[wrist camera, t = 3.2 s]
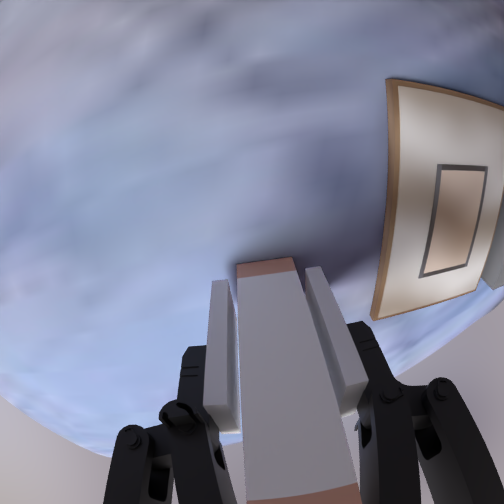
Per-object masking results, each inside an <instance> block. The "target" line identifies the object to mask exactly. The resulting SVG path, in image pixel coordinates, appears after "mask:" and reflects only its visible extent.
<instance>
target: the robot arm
mask: <svg viewBox="0 0 504 504" xmlns="http://www.w3.org/2000/svg"><path fill="white" fill-rule="evenodd" d="M305 298H306V301H307V304H308V307H309V310H310V313H311V316H312V320H313V323H314V326H315V329H316V332H317V336H318V339H319V342H320V345H321V349H322V352H323V355H324V359H325V362H326V365H327V369H328V372H329V376H330V379H331V383H332V386H333V390H334V393H335V397H336V400H337V404H338V408H339V411H340V415H341V417H345V416H348V415H352V414H355V412H356V409H357V411H358V414H359V417H360V418H359V420H358V421H357V423H356V425H355V431H357V429H358V434H359V456H360V496H361V501H362V504H421V490H420V478H419V477H420V475H419V465H418V460H419V462H420V465H421V467H422V470H423V473H424V475H425V478H426V481H427V483H428V486H429V489H430V492H431V494H432V498H433V501H434V504H504V488H503V485H502V483H501V480H500V477H499V475H498V472H497V469H496V467H495V465H494V462H493V460H492V457H491V456H490V453H489V451H488V449H487V446H486V444H485V442H484V440H483V438H482V435H481V433H480V431H479V429H478V427H477V425H476V423H475V421H474V420H473V418H472V415H471V414H470V412H469V410H468V408H467V406H466V404H465V402H464V401H463V399H462V397H461V395H460V393H459V392H458V390H457V388H456V386H455V385H454V384H453V383H452V381H451V380H449V379H447V378H442V377H439V378H436V379H434V380H432V381H431V382H430V383H429V385H426V386H425V385H424V386H407V385H404V384H402V383H400V382H399V381H397V380H396V379H395V378H394V376H393V375H392V373H391V370H390V368H389V366H388V364H387V361H386V359H385V357H384V355H383V353H382V351H381V349H380V348H379V344H378V342H377V340H376V339H375V336H374V334H373V332H372V330H371V328H370V327H369V326H368V325H366V324H365V323H364V322H363V321H359V322H355V323H350V324H346V323H345V320H344V318H343V316H342V313H341V311H340V309H339V306H338V304H337V302H336V300H335V297H334V295H333V293H332V291H331V288H330V286H329V284H328V282H327V280H326V277H325V275H324V273H323V271H322V269H321V267H320V266H317V267H311V268H305ZM159 420H160V421H161V422H162V423H163V424H160V425H157V426H153V427H149V428H145V429H143V428H142V427H141V426H138V425H128V426H126V427H124V428H123V429H121V430H120V431H119V433H118V436H117V439H116V443H115V447H114V451H113V456H112V461H111V465H110V470H109V475H108V480H107V485H106V491H105V496H104V502H103V504H171V501H172V491H173V482H174V479H175V485H176V491H177V496H178V502H179V504H237V501H236V498H235V495H234V491H233V487H232V484H231V480H230V477H229V472H228V469H227V465H226V461H225V457H224V453H223V448H222V445H221V443H220V441H219V431H220V432H221V434H233V433H241V425H240V401H239V375H238V344H237V318H236V314H235V309H234V305H233V300H232V296H231V292H230V287H229V283H228V279H225V280H217V281H212V289H211V299H210V310H209V322H208V335H207V345H203V346H190V347H188V348H187V350H186V352H185V353H184V355H183V357H182V364H181V372H180V379H179V387H178V395H177V400H173V401H170V402H168V403H167V404H166V405H164V406H163V407H162V409H161V411H160V412H159Z"/></svg>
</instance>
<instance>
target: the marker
mask: <svg viewBox="0 0 504 504" xmlns="http://www.w3.org/2000/svg"><path fill="white" fill-rule="evenodd" d="M237 300H238V334H239V362H240V387H241V410H242V431H243V450H244V468H245V484H246V500H247V504H362V501H361V496H360V491H359V487H358V483H357V478H356V474H355V470H354V466H353V462H352V457H351V453H350V449H349V446H348V442H347V438H346V434H345V430H344V427H343V422H342V419H341V415H340V411H339V408H338V404H337V400H336V397H335V393H334V390H333V386H332V383H331V379H330V376H329V372H328V369H327V365H326V362H325V359H324V355H323V352H322V349H321V345H320V342H319V339H318V336H317V332H316V329H315V326H314V323H313V320H312V316H311V313H310V310H309V307H308V304H307V301H306V298H305V295H304V292H303V289H302V286H301V283H300V280H299V277H298V274H297V271H296V268H295V265H294V262H293V259H292V257H286V258H279V259H272V260H265V261H258V262H250V263H243V264H237Z"/></svg>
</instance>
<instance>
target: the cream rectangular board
mask: <svg viewBox="0 0 504 504" xmlns="http://www.w3.org/2000/svg"><path fill="white" fill-rule="evenodd" d="M385 81H386V93H387V109H388V181H387V198H386V211H385V222H384V231H383V240H382V248H381V255H380V262H379V268H378V274H377V280H376V286H375V291H374V297H373V302H372V307H371V311H370V316H371V318H372V320H373V321H376V320H380V319H384V318H388V317H392V316H395V315H399V314H403V313H407V312H410V311H414V310H417V309H421V308H424V307H428V306H431V305H434V304H437V303H441V302H444V301H447V300H450V299H453V298H456V297H459V296H462V295H465V294H468V293H471V292H473V291H476V288H477V285H478V283H479V280H480V278H481V275H482V272H483V269H484V266H485V263H486V260H487V257H488V254H489V251H490V248H491V244H492V241H493V237H494V234H495V230H496V226H497V222H498V217H499V213H500V208H501V203H502V198H503V193H504V107H503V106H500V105H498V104H495V103H492V102H489V101H486V100H483V99H480V98H477V97H474V96H471V95H467V94H464V93H460V92H456V91H453V90H449V89H444V88H440V87H436V86H431V85H426V84H421V83H415V82H409V81H403V80H396V79H385Z"/></svg>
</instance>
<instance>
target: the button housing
mask: <svg viewBox="0 0 504 504" xmlns="http://www.w3.org/2000/svg"><path fill="white" fill-rule="evenodd" d="M481 278H482V279H483V280H484V281H485V282H486V283H487V284H488V285H489V287H490V288H491V289H492V290H494V289H496V288H499V287H501V286H503V285H504V193H503V198H502V203H501V208H500V213H499V217H498V222H497V226H496V230H495V234H494V237H493V241H492V244H491V248H490V251H489V254H488V257H487V260H486V263H485V266H484V269H483V272H482V275H481Z"/></svg>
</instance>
